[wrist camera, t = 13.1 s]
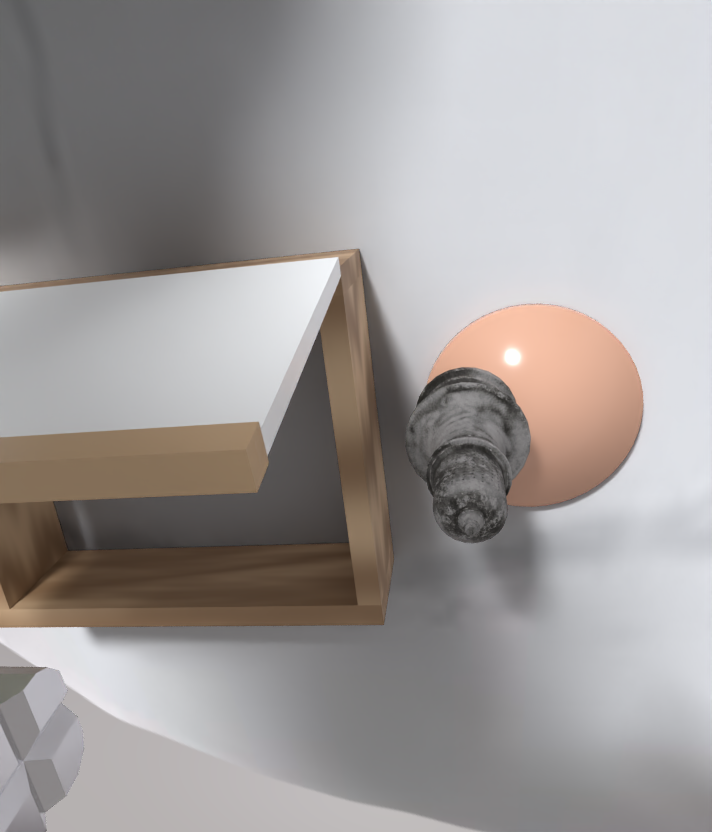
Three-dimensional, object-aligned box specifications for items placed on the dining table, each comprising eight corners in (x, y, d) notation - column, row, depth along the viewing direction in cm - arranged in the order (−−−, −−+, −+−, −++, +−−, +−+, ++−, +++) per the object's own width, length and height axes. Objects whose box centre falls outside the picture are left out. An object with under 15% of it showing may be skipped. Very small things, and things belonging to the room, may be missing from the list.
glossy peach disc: (415, 313, 34) (414, 316, 33) (643, 293, 32) (646, 296, 31) (431, 505, 38) (431, 510, 37) (637, 497, 36) (639, 502, 35)
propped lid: (-112, 301, 32) (-556, 411, 18) (340, 255, 28) (226, 348, 14) (-22, 553, 36) (-317, 795, 22) (375, 541, 33) (316, 823, 19)
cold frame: (-32, 289, 37) (-118, 312, 31) (359, 248, 33) (339, 266, 28) (55, 567, 43) (-4, 627, 37) (393, 559, 39) (383, 624, 34)
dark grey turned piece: (458, 338, 33) (460, 425, 22) (548, 408, 34) (593, 527, 23) (387, 422, 36) (356, 539, 24) (472, 486, 36) (480, 630, 25)
